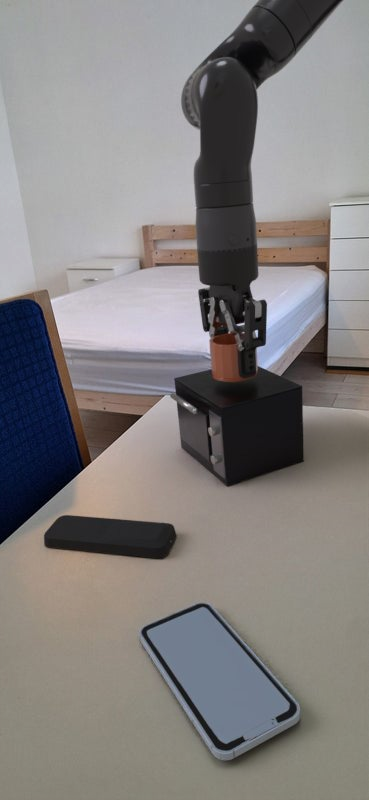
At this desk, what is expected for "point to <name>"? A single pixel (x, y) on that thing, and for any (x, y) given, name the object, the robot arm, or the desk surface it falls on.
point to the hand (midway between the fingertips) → (234, 369)
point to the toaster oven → (240, 423)
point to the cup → (226, 358)
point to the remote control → (111, 536)
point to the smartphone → (218, 680)
